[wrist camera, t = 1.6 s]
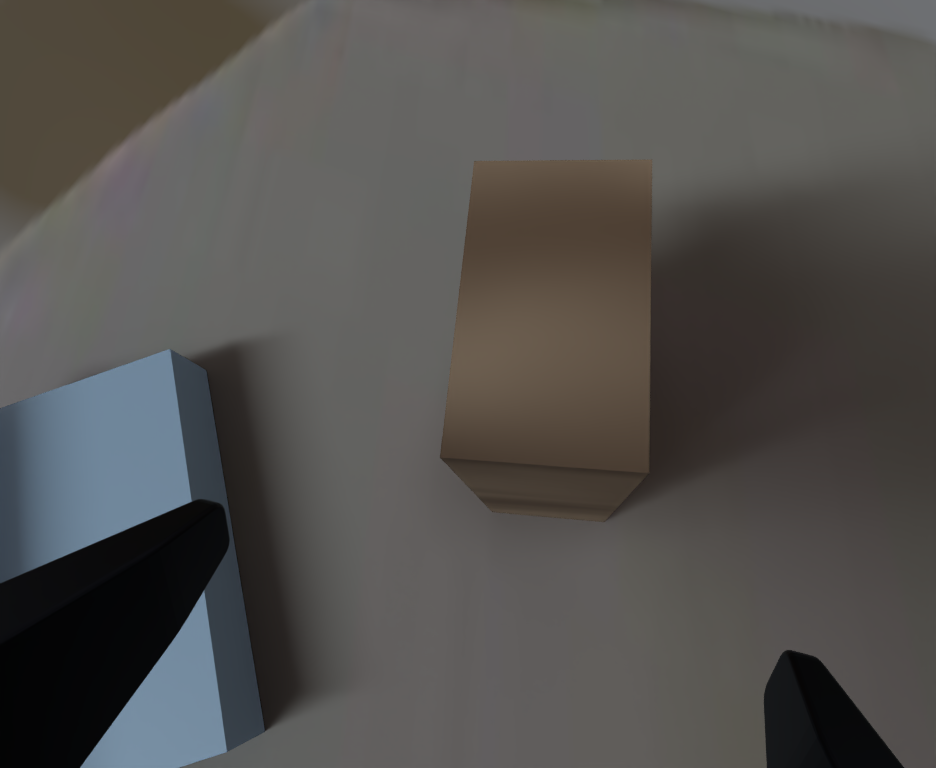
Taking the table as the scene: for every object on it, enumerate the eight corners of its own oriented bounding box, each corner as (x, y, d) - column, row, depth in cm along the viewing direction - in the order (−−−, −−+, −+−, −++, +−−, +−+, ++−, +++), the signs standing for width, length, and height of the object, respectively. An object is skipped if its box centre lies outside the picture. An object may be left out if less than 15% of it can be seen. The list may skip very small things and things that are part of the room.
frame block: (605, 522, 21) (652, 473, 11) (490, 511, 22) (437, 457, 12) (611, 339, 23) (654, 159, 13) (506, 334, 24) (472, 161, 14)
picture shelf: (264, 731, 20) (177, 778, 16) (24, 809, 21) (-134, 878, 16) (206, 370, 25) (125, 322, 20) (10, 438, 25) (-114, 406, 21)
